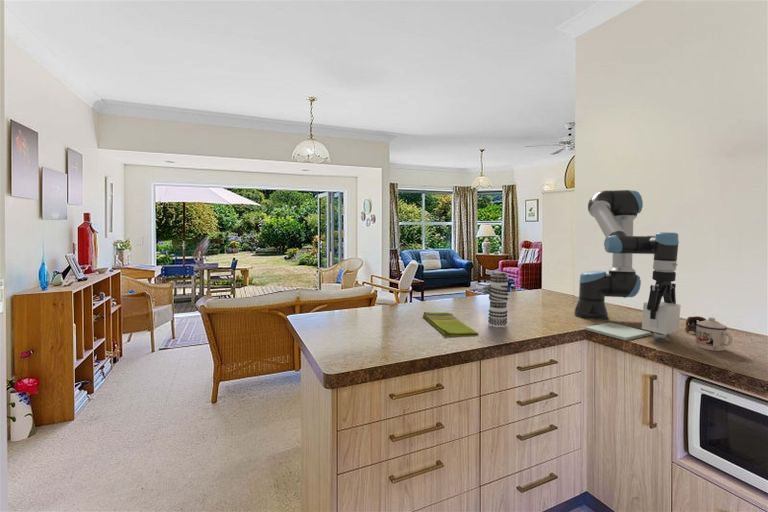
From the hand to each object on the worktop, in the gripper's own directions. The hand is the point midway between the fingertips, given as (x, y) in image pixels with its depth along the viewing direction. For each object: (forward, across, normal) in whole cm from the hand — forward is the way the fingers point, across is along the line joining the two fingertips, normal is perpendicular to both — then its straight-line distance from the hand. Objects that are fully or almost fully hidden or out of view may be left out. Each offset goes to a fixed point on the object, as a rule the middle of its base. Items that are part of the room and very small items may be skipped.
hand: (660, 325), depth 156 cm
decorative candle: (+7, -43, +47) cm, 64 cm away
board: (+6, -4, +15) cm, 16 cm away
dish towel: (+7, -64, +57) cm, 86 cm away
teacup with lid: (+6, +7, -16) cm, 18 cm away
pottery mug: (+7, +28, -1) cm, 29 cm away
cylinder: (+6, 0, 0) cm, 6 cm away
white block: (+2, 0, 0) cm, 2 cm away
